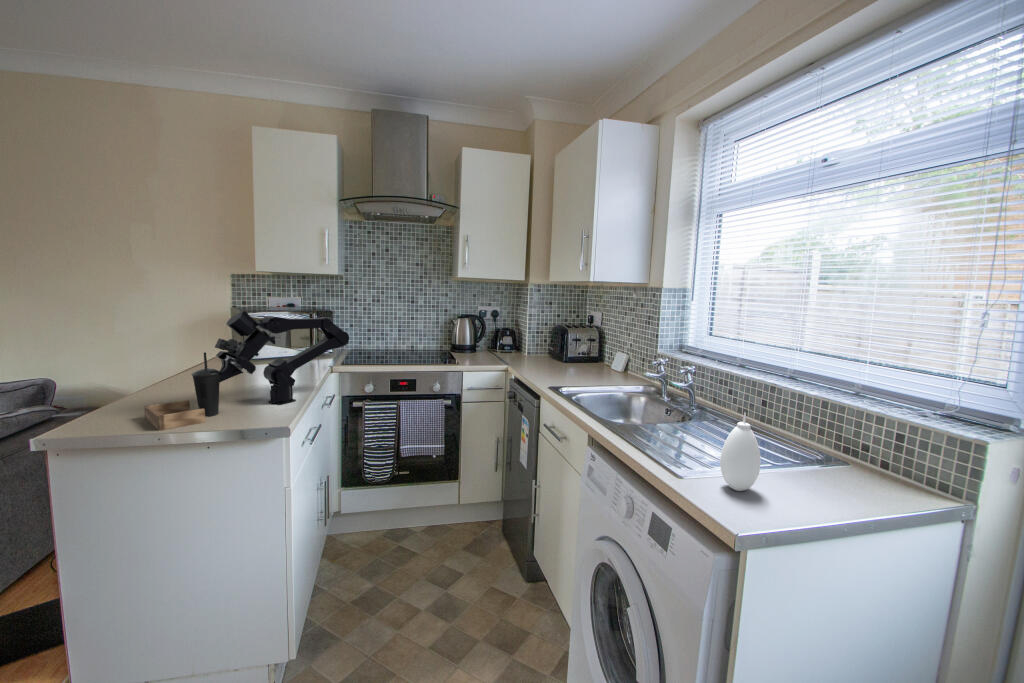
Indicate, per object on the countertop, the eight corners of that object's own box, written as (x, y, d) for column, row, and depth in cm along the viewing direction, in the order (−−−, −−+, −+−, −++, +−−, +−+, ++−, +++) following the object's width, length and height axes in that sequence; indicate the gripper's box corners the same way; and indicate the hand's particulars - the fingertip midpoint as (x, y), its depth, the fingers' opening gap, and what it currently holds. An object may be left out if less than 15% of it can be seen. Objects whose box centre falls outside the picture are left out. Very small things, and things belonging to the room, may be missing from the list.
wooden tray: (188, 411, 145) (188, 399, 144) (205, 422, 135) (204, 409, 135) (145, 419, 136) (144, 406, 136) (159, 430, 126) (158, 416, 126)
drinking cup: (228, 413, 144) (224, 352, 141) (201, 419, 137) (196, 355, 135) (216, 409, 148) (212, 349, 145) (190, 415, 141) (185, 352, 139)
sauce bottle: (711, 481, 105) (718, 406, 102) (744, 481, 105) (751, 407, 103) (729, 497, 97) (737, 416, 95) (764, 497, 97) (773, 417, 95)
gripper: (221, 327, 151) (184, 362, 144) (243, 332, 139) (204, 371, 132) (247, 348, 158) (213, 383, 151) (271, 354, 146) (234, 393, 139)
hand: (215, 382), depth 143 cm, fingers closed
